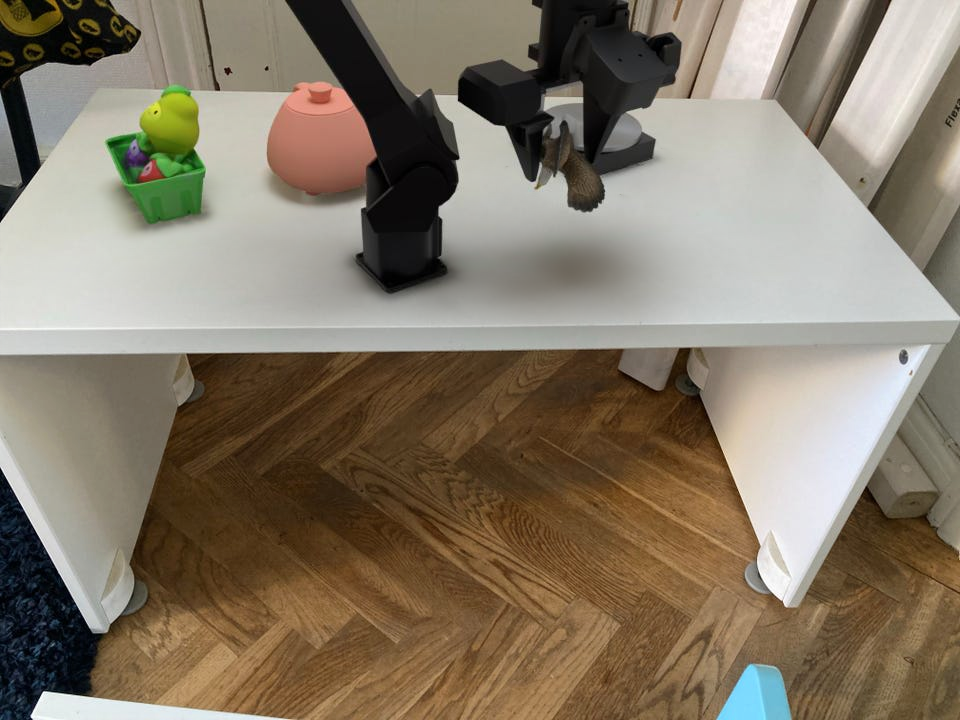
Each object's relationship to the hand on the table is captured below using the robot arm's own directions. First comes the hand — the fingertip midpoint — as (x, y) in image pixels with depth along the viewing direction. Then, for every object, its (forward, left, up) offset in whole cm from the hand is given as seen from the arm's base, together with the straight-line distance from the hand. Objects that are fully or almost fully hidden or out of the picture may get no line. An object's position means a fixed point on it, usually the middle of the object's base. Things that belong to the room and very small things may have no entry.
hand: (560, 171), depth 72 cm
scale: (+18, +17, -10) cm, 27 cm away
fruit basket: (-27, +30, -10) cm, 41 cm away
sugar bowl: (-11, +27, -10) cm, 30 cm away
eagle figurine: (0, 0, -2) cm, 2 cm away
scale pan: (+19, +17, -7) cm, 26 cm away
